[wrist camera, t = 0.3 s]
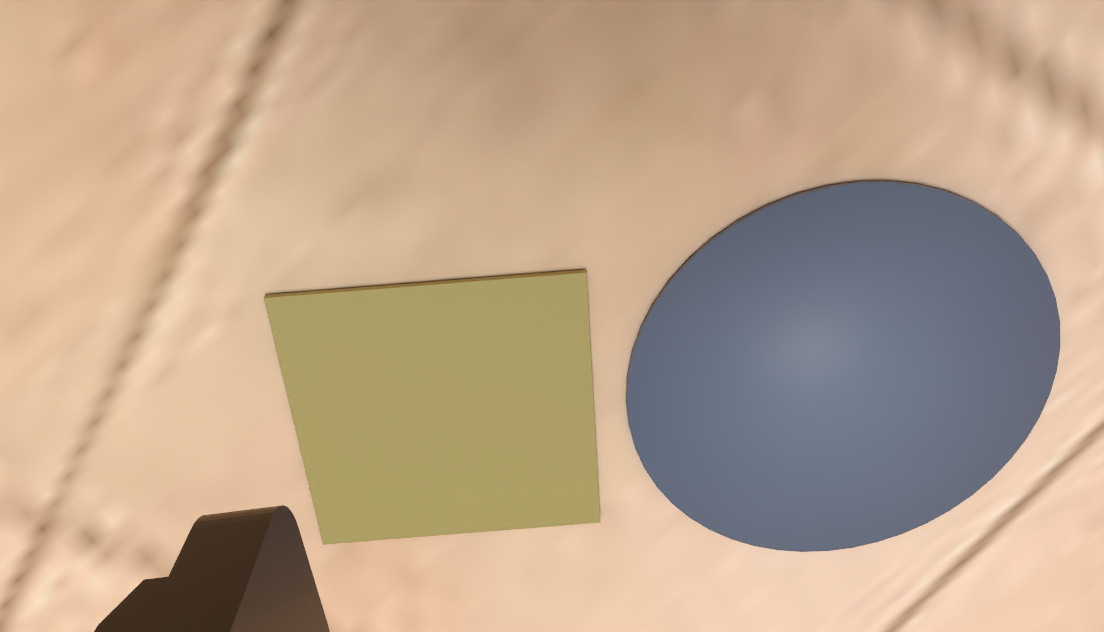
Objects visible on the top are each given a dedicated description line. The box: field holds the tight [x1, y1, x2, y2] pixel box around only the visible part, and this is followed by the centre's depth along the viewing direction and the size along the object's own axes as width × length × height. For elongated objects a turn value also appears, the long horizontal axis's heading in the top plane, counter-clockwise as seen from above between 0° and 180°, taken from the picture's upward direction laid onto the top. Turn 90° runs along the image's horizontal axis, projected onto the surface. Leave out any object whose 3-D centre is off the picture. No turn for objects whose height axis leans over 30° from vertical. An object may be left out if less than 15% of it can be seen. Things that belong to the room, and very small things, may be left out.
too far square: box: [264, 270, 600, 544], centre depth 29 cm, size 9×9×1 cm
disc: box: [626, 181, 1060, 552], centre depth 29 cm, size 13×13×1 cm
